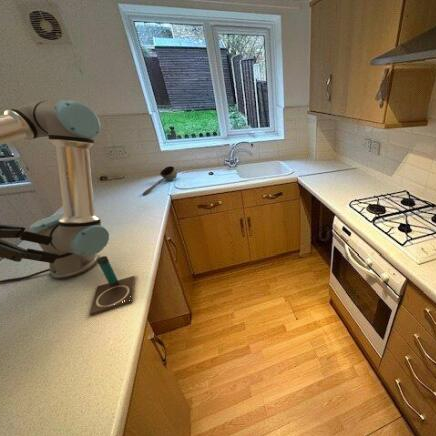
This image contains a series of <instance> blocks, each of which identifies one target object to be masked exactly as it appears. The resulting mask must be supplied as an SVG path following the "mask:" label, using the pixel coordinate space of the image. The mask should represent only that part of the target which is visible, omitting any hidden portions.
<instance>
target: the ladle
mask: <svg viewBox="0 0 436 436" xmlns="http://www.w3.org/2000/svg"><path fill="white" fill-rule="evenodd" d="M159 175H160V176H161V177H162V178H160V179H159V180H158V181H157V182H156V183H154V184H153V185H151V186H150V187H149V188H147V189H146V190H144V191H143V193H142V196H146V195H147V194H149V193H151V191H153V190H154V189H155V188H156V187H158V185H160V184H162V183H163V182H164V181H168V182H170V181H173V180H175V179H176V178H177V175H178V172H177V170H176V169H175V167H174V166H171V165H170V166H167V167H165V168H163V169H162V170H161V171H160V173H159Z"/></svg>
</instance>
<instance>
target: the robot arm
mask: <svg viewBox="0 0 436 436" xmlns="http://www.w3.org/2000/svg"><path fill="white" fill-rule="evenodd" d="M100 131H101V121H100V119H99V117H98V115H97V114H96V113H95V111H93V110H92V108H91V107H89V106H88V105H86V104H85V103H83V102H80V101H77V100H70V99H61V100H39V101H35V102H32V103H28V104H25V105H21V106H18V107H14V108H10V109H5V110H4V111H3V114H1V115H0V146H2V145H5V144H9V143H12V142H15V141H19V140H22V139H24V140H27V141H31V140H34V139H38V138H45V137H48V141H49V142H50V143H52V144H53V145H54V146H55V149H56V158H57V159H56V160H57V166H58V176H59V184H60V192H61V193H60V194H61V203H62V210H63V213H58V214H54V215H51V216H47V217H45V218H42V219H40V220H37V221H34V222H33V223H32V224H31V225H30V226H29V231H28V230H26V229H27V228H26V227H25V226H16V225H9V224H8V225H7V224H0V258H3V259H6V260H9V261H12V262H17V263H21V262H22V259H24V260H31V261H36V262H43V263H48V266H49V268H47V269H44V270H41V271H37V272H35V273H32V274H29V275H25V276H21V277H14V278H6V279H1V280H0V284H2V283H7V282H14V281H20V280H25V279H29V278H32V277H35V276H38V275H41V274H43V273H44V274H45V273H47V272H49V273H50V275H51V277H52V278H54V279H57V280H62V279H64V280H65V279H69V278H73V277H77V276H79V275H81V274H83V273H86V272H87V271H89V270H91V269H92V268H93V267H94V266H95V265H97V264H98V262H97V259H98V258H99V257H98V256H97V254H99V253H100V252H102V251H103V250H104V248H105V247H107V245H108V243H109V240H110V233H109V231H108V229H107V228H105V227H104V226H102V222H101V217H100V216H99V215H97V214H96V211H95V209H96V208H95V199H94V187H93V178H92V168H91V167H92V166H91V165H92V164H91V157H90V156H91V155H90V149H91V148H92V147H93V146H94V145H95V142H94V141H95V140H94V138H95V137H96V136H98V134H99V133H100ZM4 239H19V241H25V242H29V243H30V242H31V243H34V244H38V245H39V247H40V248H41V250H39V249H34V248H27V249H26V248H23V247H21V246H19V245H15V244H14V243H11V242H8V241H6V240H4Z"/></svg>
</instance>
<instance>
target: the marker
mask: <svg viewBox="0 0 436 436" xmlns="http://www.w3.org/2000/svg"><path fill="white" fill-rule="evenodd" d="M97 258H98V259H97V265H99V267H100V269H101V272H102V273H103V275H104V277H105V279H106V280H107V283H109V285H110V287H115V286H117V285H118V284H119V281H118V280H119V279H118V278H117V276H116V272H115V271H114V269H113V268H112V267H113V266H112V264H111V263H110V260H109V258H108V256H106V255H103V256H100V257H97Z"/></svg>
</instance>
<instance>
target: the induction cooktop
mask: <svg viewBox="0 0 436 436" xmlns="http://www.w3.org/2000/svg"><path fill="white" fill-rule="evenodd" d="M118 281H119V284H118V285H117V286H115V287H110V285H109V283H108V282H107V283H104V284H101V285H97V287H96V289H95V294H94V296H93V301H92V304H91V307H90V311H89V316H95V315H97V314H101V313H104V312H107V311H110V310H114V309H116V308H119V307H122V306H125V305H128V304H131V303H133V300H134V291H135V290H134V289H135V283H136V276H135V275H132V276H129V277H125V278H122V279H118ZM130 296H131V297H130ZM124 300H125V302H124ZM129 300H130V301H129ZM122 301H123V303H122ZM114 304H115V305H114Z"/></svg>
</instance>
